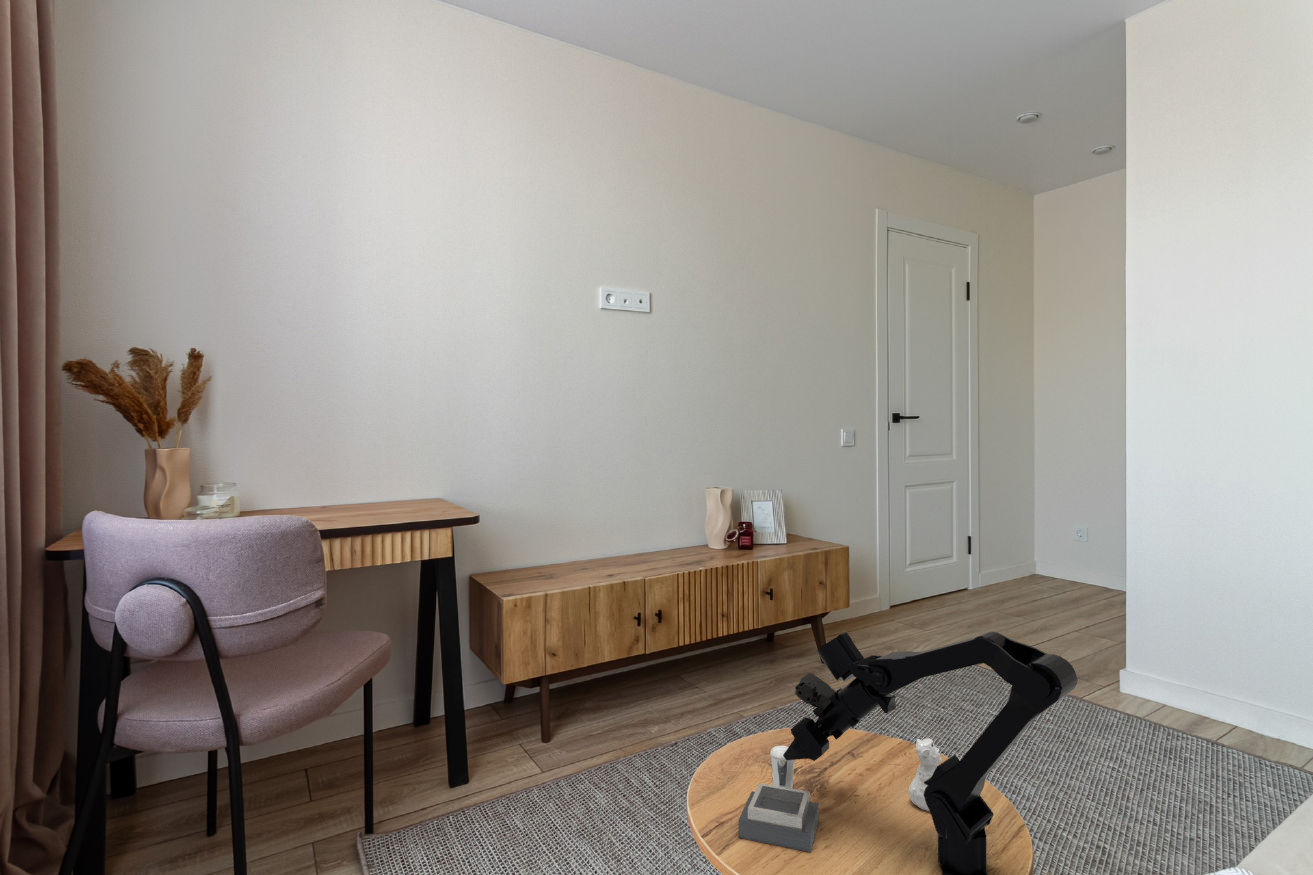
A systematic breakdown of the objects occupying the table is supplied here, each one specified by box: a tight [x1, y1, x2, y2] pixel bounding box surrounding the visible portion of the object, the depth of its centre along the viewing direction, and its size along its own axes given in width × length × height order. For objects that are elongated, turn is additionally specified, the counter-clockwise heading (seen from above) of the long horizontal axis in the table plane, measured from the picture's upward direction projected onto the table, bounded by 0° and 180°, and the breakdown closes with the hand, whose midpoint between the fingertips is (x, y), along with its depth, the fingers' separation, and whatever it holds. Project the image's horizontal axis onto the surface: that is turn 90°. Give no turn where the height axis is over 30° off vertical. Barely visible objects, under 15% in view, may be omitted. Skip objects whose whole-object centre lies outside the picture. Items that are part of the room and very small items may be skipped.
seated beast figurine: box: [907, 737, 943, 812], centre depth 126 cm, size 10×9×12 cm
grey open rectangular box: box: [738, 782, 820, 853], centre depth 119 cm, size 12×10×5 cm
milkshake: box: [770, 745, 795, 789], centre depth 129 cm, size 5×5×10 cm
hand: (795, 748), depth 128 cm, fingers open, 9 cm apart
